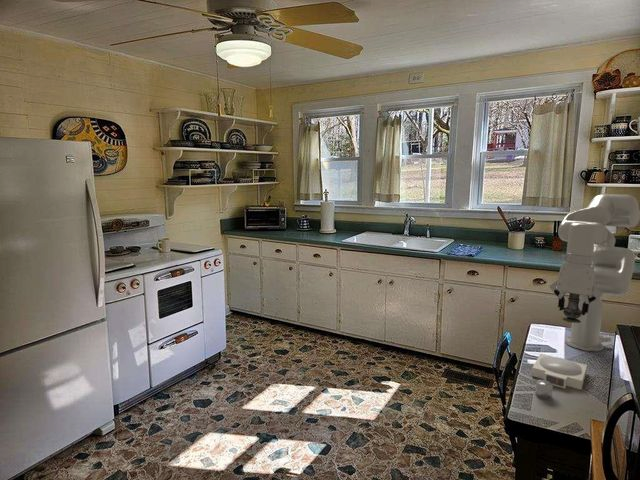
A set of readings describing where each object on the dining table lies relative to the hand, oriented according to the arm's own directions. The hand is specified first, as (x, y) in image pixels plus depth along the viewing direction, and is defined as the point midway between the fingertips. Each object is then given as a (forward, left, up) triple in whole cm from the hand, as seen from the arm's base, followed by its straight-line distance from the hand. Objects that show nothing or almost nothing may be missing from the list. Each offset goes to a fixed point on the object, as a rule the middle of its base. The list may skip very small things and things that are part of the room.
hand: (572, 311), depth 137 cm
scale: (+7, +6, -20) cm, 22 cm away
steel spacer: (+19, +18, -20) cm, 33 cm away
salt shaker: (0, 0, -3) cm, 3 cm away
